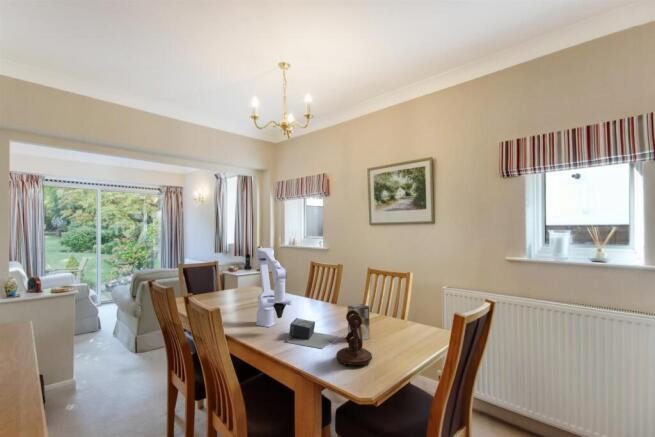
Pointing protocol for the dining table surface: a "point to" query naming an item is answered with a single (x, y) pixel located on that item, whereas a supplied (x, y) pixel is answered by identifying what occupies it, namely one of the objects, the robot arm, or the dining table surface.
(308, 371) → the dining table surface
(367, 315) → the coffee box
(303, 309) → the dining table surface
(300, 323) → the small box
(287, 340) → the mat
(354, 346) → the brown tall round-based figurine
